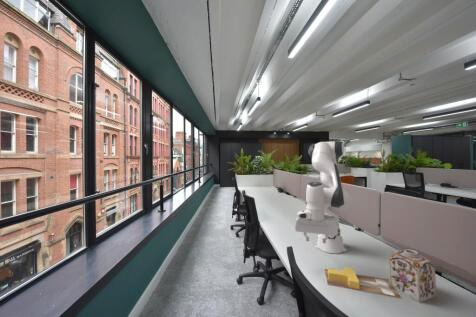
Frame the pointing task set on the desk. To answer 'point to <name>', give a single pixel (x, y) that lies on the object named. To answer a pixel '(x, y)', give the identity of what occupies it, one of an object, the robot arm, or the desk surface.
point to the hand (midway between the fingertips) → (315, 241)
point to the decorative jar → (412, 274)
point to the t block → (345, 277)
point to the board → (368, 285)
